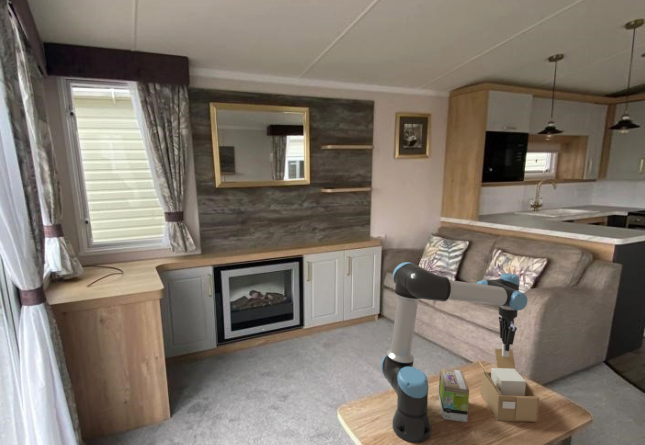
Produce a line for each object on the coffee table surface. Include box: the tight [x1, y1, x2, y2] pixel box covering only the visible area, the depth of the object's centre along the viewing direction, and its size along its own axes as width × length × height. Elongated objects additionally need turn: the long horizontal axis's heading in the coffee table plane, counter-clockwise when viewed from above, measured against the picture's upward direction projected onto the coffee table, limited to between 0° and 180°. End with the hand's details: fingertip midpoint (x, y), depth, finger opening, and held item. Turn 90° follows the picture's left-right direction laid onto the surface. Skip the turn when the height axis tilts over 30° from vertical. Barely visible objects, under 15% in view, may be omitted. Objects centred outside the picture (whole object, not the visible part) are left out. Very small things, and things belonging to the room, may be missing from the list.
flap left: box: [478, 360, 499, 392], centre depth 147 cm, size 10×9×1 cm
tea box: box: [438, 368, 470, 423], centre depth 149 cm, size 15×10×15 cm
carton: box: [480, 367, 540, 423], centre depth 149 cm, size 16×19×15 cm
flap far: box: [494, 348, 517, 371], centre depth 159 cm, size 10×8×1 cm
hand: (505, 356), depth 159 cm, fingers closed
